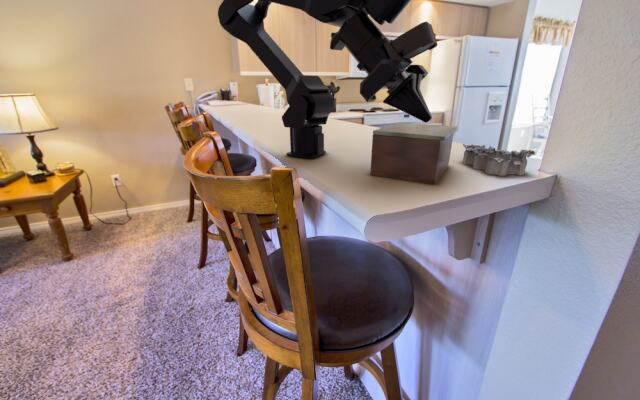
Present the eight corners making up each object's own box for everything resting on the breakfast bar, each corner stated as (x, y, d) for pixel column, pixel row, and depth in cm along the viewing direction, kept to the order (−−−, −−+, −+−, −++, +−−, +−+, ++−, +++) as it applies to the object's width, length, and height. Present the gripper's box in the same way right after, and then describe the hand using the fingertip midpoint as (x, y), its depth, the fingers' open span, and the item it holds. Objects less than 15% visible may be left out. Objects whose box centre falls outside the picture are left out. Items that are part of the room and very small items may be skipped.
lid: (457, 129, 52) (457, 126, 51) (444, 140, 42) (445, 136, 42) (396, 125, 57) (397, 122, 57) (372, 134, 47) (372, 130, 47)
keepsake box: (448, 166, 54) (454, 129, 52) (434, 184, 44) (440, 140, 42) (393, 159, 59) (396, 125, 57) (370, 174, 49) (372, 134, 47)
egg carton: (532, 176, 49) (539, 151, 47) (489, 177, 48) (494, 152, 47) (492, 160, 58) (497, 139, 57) (456, 161, 58) (460, 140, 56)
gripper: (387, -12, 37) (467, 82, 35) (423, 15, 51) (480, 82, 50) (331, 60, 43) (397, 141, 42) (377, 66, 58) (426, 126, 57)
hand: (429, 120), depth 48 cm, fingers closed
